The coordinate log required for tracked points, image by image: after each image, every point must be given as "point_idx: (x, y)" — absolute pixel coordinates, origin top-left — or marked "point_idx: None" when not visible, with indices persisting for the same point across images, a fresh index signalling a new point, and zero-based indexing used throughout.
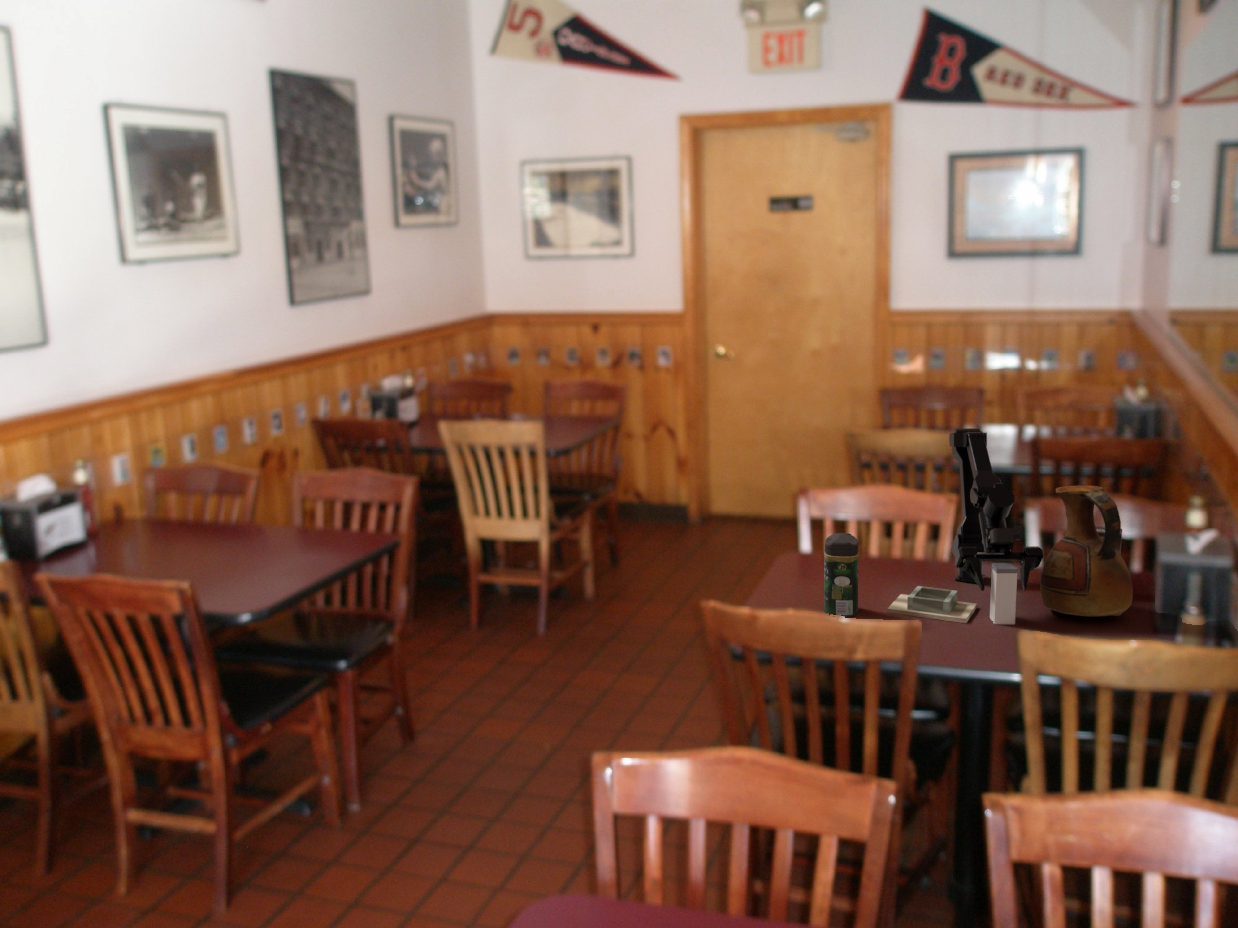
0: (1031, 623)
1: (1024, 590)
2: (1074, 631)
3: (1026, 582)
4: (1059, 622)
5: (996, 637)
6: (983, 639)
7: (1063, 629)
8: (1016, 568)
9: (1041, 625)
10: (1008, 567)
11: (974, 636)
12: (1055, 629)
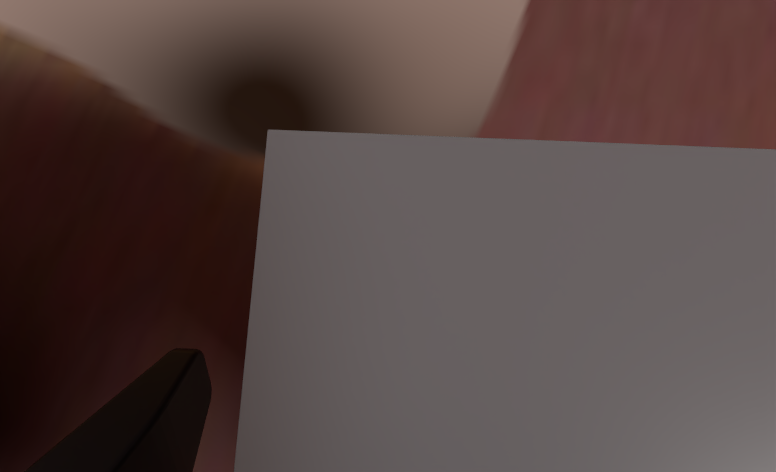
0: (246, 313)
1: (204, 373)
2: (17, 135)
3: (112, 411)
4: (30, 326)
5: (585, 39)
6: (682, 6)
7: (72, 177)
8: (294, 187)
9: (190, 266)
10: (555, 336)
11: (734, 61)
12: (127, 178)
